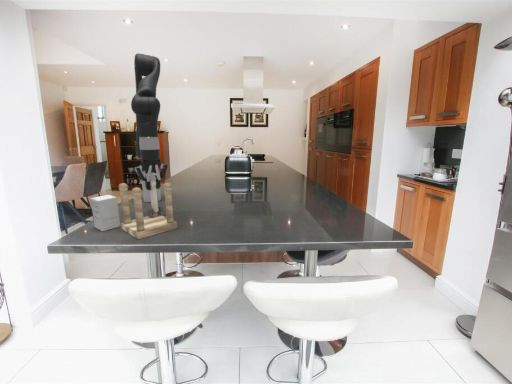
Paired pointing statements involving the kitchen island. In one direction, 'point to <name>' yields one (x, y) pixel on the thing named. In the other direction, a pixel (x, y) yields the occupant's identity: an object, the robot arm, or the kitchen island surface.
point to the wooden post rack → (152, 222)
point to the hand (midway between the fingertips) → (153, 189)
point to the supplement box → (105, 212)
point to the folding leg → (153, 195)
